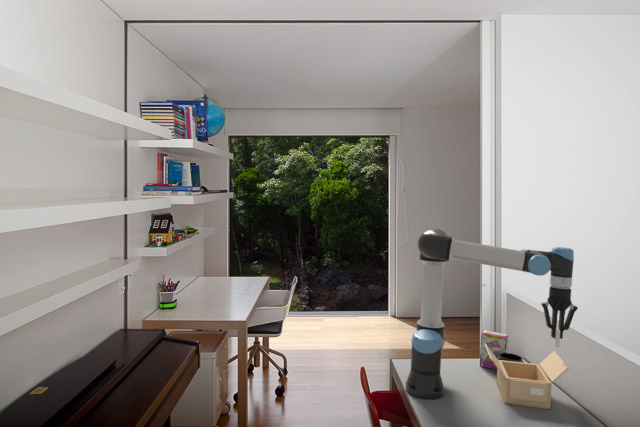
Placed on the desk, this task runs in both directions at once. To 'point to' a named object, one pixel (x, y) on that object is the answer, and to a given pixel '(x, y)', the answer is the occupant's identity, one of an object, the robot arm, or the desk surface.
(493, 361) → the flap
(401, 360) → the desk surface
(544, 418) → the desk surface
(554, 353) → the flap
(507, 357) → the mug
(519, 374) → the carton
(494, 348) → the candy bar box
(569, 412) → the desk surface
